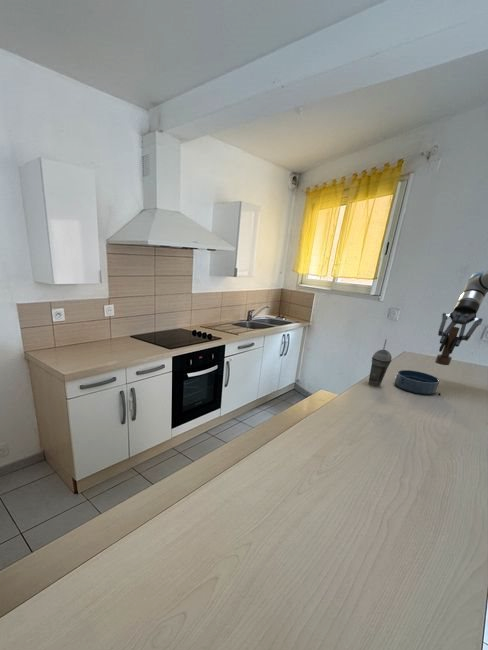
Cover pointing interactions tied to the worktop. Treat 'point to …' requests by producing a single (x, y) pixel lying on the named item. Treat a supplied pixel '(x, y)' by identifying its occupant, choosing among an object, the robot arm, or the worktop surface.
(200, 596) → the worktop surface
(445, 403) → the worktop surface
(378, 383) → the beverage cup
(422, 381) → the bowl
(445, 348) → the rusty bolt
